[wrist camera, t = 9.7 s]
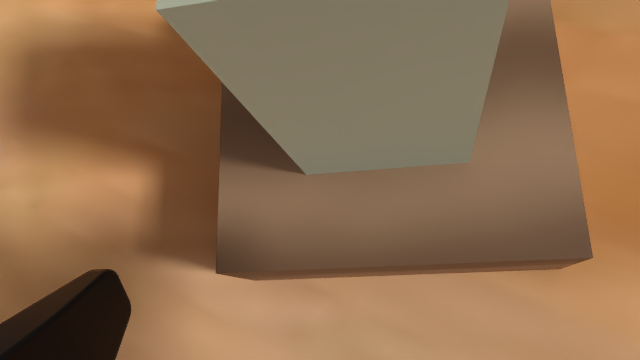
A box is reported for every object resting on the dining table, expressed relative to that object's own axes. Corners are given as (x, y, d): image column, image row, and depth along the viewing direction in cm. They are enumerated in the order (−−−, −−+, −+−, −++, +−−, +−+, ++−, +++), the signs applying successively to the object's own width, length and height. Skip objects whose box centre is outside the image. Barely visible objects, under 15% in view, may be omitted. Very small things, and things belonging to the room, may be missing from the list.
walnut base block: (560, 268, 18) (593, 257, 15) (255, 280, 21) (215, 273, 17) (519, -9, 22) (537, -77, 18) (258, 29, 24) (225, -24, 20)
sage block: (469, 162, 16) (521, -47, 7) (306, 174, 17) (155, 9, 8) (454, 15, 18) (480, -326, 8) (304, 35, 19) (176, -245, 9)
